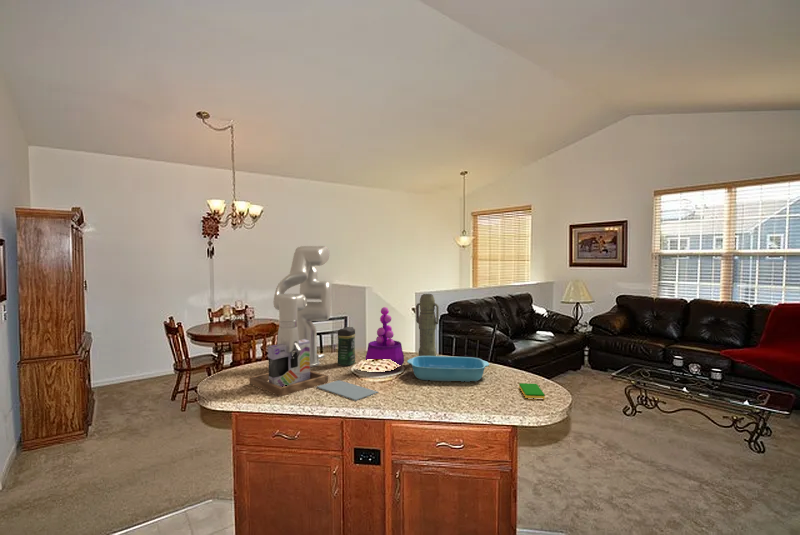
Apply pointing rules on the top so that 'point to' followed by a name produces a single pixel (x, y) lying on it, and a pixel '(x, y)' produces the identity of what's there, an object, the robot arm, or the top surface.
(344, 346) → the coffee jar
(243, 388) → the top surface
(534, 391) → the dish sponge
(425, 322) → the thermos
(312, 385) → the frame
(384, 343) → the decorative plant
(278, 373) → the cake pan box
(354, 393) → the mat
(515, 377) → the top surface
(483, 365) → the casserole dish
